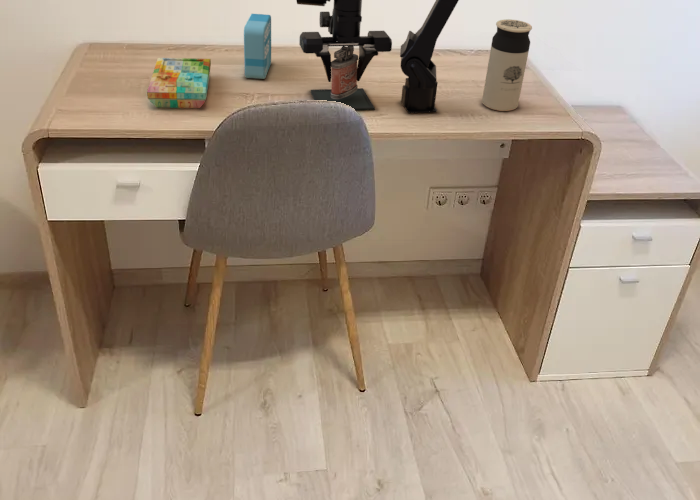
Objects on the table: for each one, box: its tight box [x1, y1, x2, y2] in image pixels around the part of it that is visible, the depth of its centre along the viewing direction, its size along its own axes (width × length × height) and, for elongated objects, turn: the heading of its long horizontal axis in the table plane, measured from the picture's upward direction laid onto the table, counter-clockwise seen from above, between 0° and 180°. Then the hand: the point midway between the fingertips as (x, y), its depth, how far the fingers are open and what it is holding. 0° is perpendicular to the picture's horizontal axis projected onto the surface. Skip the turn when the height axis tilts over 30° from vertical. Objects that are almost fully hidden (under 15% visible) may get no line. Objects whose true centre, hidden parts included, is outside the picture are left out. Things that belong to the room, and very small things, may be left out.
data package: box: [243, 13, 272, 80], centre depth 172 cm, size 12×4×12 cm, turn 177°
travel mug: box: [481, 18, 533, 112], centre depth 162 cm, size 8×8×18 cm
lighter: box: [331, 46, 359, 99], centre depth 159 cm, size 8×3×10 cm, turn 145°
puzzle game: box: [146, 57, 212, 109], centre depth 161 cm, size 12×5×20 cm
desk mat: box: [310, 87, 376, 112], centre depth 163 cm, size 12×11×1 cm
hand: (343, 80), depth 161 cm, fingers closed on lighter, 6 cm apart
